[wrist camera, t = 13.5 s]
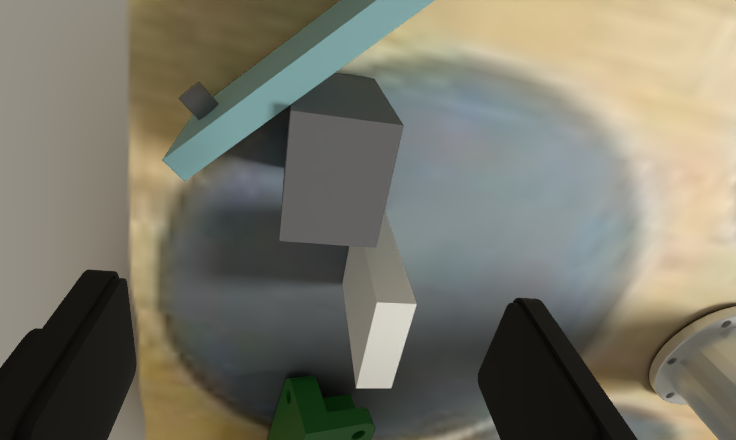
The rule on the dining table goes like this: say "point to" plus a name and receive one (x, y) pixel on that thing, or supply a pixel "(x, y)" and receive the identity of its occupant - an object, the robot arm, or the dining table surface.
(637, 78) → the dining table surface
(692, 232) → the dining table surface
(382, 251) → the white rectangular block
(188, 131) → the door
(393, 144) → the gray rectangular block
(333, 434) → the clamp
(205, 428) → the dining table surface
